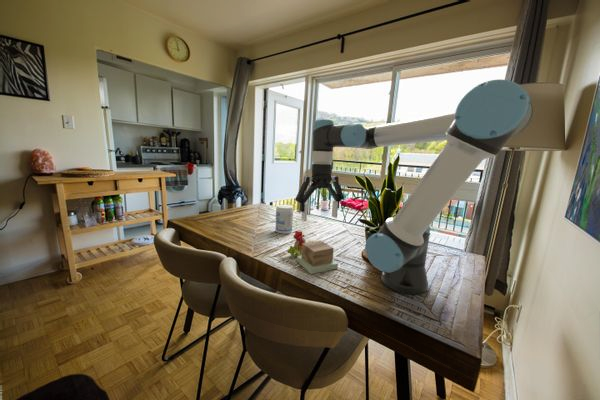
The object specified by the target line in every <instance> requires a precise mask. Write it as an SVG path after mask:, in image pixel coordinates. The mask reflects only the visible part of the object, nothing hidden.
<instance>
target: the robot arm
mask: <svg viewBox="0 0 600 400" xmlns="http://www.w3.org/2000/svg"><path fill="white" fill-rule="evenodd" d="M457 103H458V104H457V105H456V108H455V111H454V112H449V113H442V114H436V115H431V116H426V117H419V118H414V119H408V120H402V121H398V122H391V123H390V122H389V123H385V124H380V125H373V126H369V127H368V126H367V127H366V126H364V125H363V124H362V123H357V122H356V123H354V122H349V123H343V124H335V121H334V120H333V119H329V118H328V119H327V118H325V119H323V118H320V119H317V120H314V123H313V129H312V137H313V138H312V157H311V159H312V165H311V177H310V176H306V175H305V176H304V177H303V182H302V185H301V186H300V188H299V190H298V193H297V195H296V196H295V202H298V203H299V212H301V220H303V222H307V219H308V218H307V217H308V203H306V202H307V201H308V200H309V198H310V197H312V195H313V193H314V192H315V191H316V190H317V189H326V190H327V191H328V193H329V194H330V195H331V197H332V198H333V200H332V207H331V217H332V218H335V219H337V218H338V212H339V211H338V210H339V209H340V203H341V202H342V200H344V199H345V197H344V196H345V195H344V194H343V193H344V192H343V191H342V188H341V185H340V182H339V181H340V180H339V176H337V175H333V176H332V173H333V165H332V163H333V159H334V158H333V157H334V156H333V155H334V154H333V153H334V148H353V149H366V150H373V149H376V148H382V147H383V148H384V147H390V146H400V145H401V146H402V145H403V146H405V145H410V144H421V143H422V144H423V143H431V142H441V141H446V143H445V145H444V146H443V147H442V149H441V150H440V152H439V153H438V154H437V156H436V157H435V159H434V161H433V162H432V163H431V165H430V166H429V167H428V169H427V170H426V172H425V174H424V175H423V176H422V178H421V179H420V180H419V181H418V183H417V185H416V186H415V187H414V189H413V190H412V192H411V193H410V195H409V196H408V197H407V198H406V200H405V201H404V203H403V205H402V206H401V208H400V209H399V210H398V212H397V213H396V215H395V216H394V217H393V216H392V217H388V218H387V219H386V220H385V221H384V222H383V224H382V225H381V227H380V228H379V230H378V231H377V232H376V233H372V234H371V235H369V237H368V238H367V239H366V241H365V246H364V249H365V254H366V257H367V259H368V261H369V262H370V264H371V265H372V266H373V267H374V268H375V269H377V270H379V271H381V272H382V273H381V281H382V284H384V285H385V286H386V287H388V288H390V289H391V290H393V291H396V292H397V293H398V292H399V293H401V294H406V295H423V294H424V293H427V291H428V288H429V280H428V276H427V270H426V261H427V254H428V247H429V240H430V236H431V224H432V223H434V221H435V220H436V218H437V217H439V215H440V214H441V212H442V211H443V210H444V208H445V207H446V206H447V205H448V204H449V203H450V201H451V200H452V199H453V197H455V195H456V193H458V191H459V190H460V188H462V187H463V185H464V184H465V182H466V181H468V179H469V178H470V176H471V175H472V174H473V173H474V171H475V170H476V169H477V168H478V167H479V165H481V163H482V162H483V161H484V160H487V159H491V158H494V157H495V158H496V156H497V155H498V154H499V153H500V152H501V150H502V149H503V148H504V146H506V145H507V143H508V142H509V141H510V140H511V139H513V138H515V137H517V136H518V135H520V134H521V133H523V132H524V131H525V130H526V129H527V127H528V126H529V124H531V123H530V122H531V121H532V118H533V113H534V108H533V104H532V102H531V96H530V94H529V93H528V90H526V89H525V88H524V87H523V86H522V85H520V84H518V83H516V82H514V81H512V80H508V79H492V80H487V81H484V82H482V83H479V84H478V85H475V86H474V87H472V88H471V89H469V90H468V91H467V92H466V93H465V94H464V95H463V96H462V97H461V99H460V100H459V102H457ZM331 182H332V183H331ZM310 183H311V184H310ZM332 185H333V186H332ZM308 186H309V188H308Z"/></svg>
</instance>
